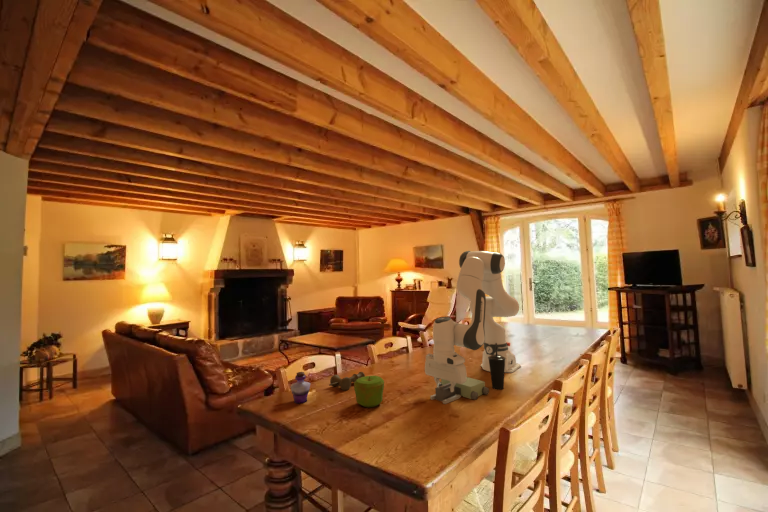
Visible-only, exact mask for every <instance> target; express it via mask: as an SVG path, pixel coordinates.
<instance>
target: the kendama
mask: <svg viewBox="0 0 768 512" xmlns="http://www.w3.org/2000/svg"><path fill="white" fill-rule="evenodd" d="M365 376H366V374H365V373H364V372H363V371H358V372H357V373H353V374H352V375H351V376H350V377H348V376H345V377H343V378H341V377H340V375H339V374H333V375H332V376H331V377H330V383H329V384H328V386H329V387H330V386H331V387H333V388H336V387H338V386H339V387H340V389H341V390H342V391H343V392H345V391H348V390H349V389H350V388H351V386H352V383H354V382H355V381H356V380H357V379H358V378H361V377H365Z"/></svg>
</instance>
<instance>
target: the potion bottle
mask: <svg viewBox="0 0 768 512" xmlns="http://www.w3.org/2000/svg"><path fill="white" fill-rule="evenodd" d="M306 377H307V376H306V374H305V371H298V372H296V375H295V379H294V380H296V382H294V383H291V385H290V390H291V391H290V392H291V394H292V397H293V404H297V405H300V404H305V403H307V402H308V395H309V392H310V388H311V382H308V381H305V380H306V379H307V378H306Z"/></svg>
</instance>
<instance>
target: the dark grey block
mask: <svg viewBox="0 0 768 512" xmlns="http://www.w3.org/2000/svg"><path fill="white" fill-rule="evenodd" d="M450 386H451V384H450V383H447V384H445V385H442V386H439V387H437V386H436V387H435V389H434V390H435V394H436V399H435V400H436V401H439V402H442V403H443V400H445V399H447V398H450V397H452V396H455V395H456V394H455V386H454V392H449V389H448V387H450Z"/></svg>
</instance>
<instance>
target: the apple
mask: <svg viewBox="0 0 768 512" xmlns="http://www.w3.org/2000/svg"><path fill="white" fill-rule="evenodd" d="M384 388H385V381H384V378H382V377H381V376H379V375H365V377H361V378H358V379H357V380H356V381H355V382H353V389H354V394H355V399H356V403H357V404H358V405H360V406H361V407H365V408H375V407H378V405H380V404H381V403H382V401H383V400H384V399H383V398H384V396H383V394H384Z"/></svg>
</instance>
